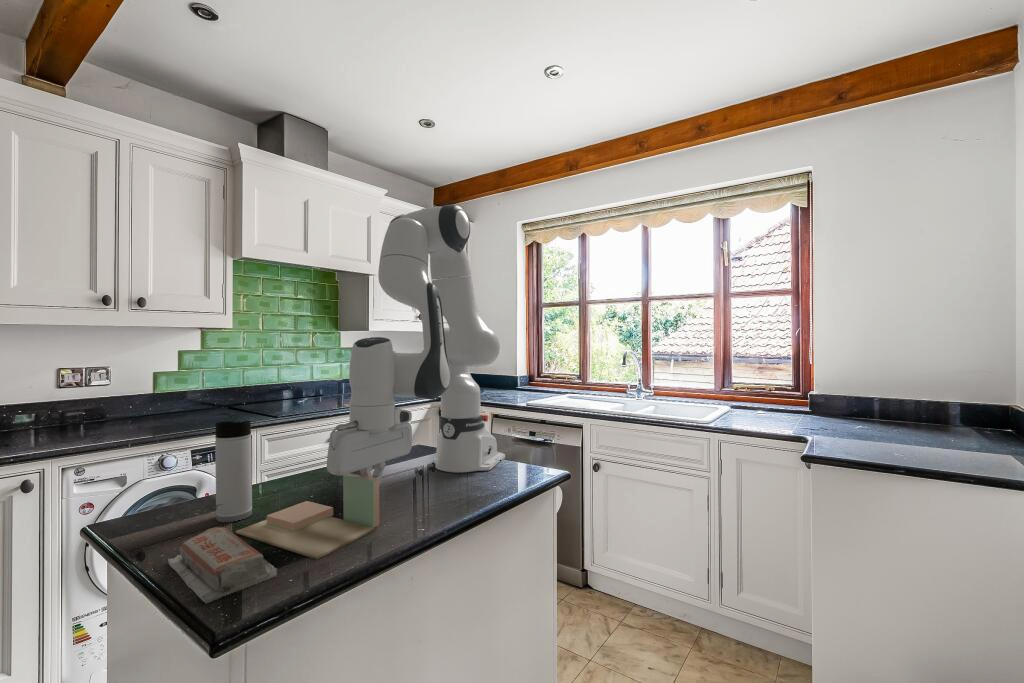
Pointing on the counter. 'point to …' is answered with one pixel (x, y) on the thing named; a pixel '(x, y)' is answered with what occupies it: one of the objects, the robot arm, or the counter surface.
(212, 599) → the packaged product
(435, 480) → the counter surface
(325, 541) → the cork mat
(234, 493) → the travel mug
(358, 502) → the pink and green block
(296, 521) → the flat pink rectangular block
